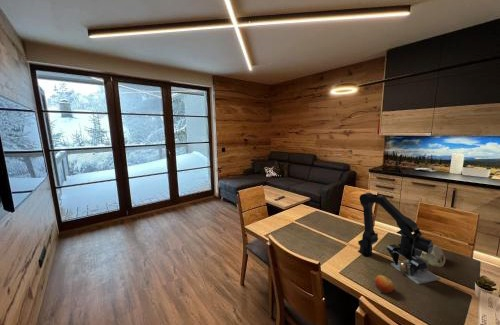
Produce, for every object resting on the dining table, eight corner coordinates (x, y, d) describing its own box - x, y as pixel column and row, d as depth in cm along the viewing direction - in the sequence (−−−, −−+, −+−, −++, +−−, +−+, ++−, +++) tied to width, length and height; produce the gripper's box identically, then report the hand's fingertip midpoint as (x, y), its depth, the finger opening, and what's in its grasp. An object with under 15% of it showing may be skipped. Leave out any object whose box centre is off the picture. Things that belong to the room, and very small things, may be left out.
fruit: (367, 282, 107) (376, 269, 106) (379, 288, 108) (387, 276, 107) (378, 294, 99) (387, 281, 98) (391, 301, 100) (400, 287, 99)
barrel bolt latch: (418, 284, 107) (419, 271, 105) (390, 264, 122) (392, 253, 121) (439, 279, 110) (441, 266, 108) (410, 261, 125) (411, 249, 124)
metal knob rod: (404, 274, 112) (405, 265, 111) (398, 270, 116) (399, 261, 115) (430, 269, 116) (431, 260, 115) (423, 264, 119) (424, 256, 118)
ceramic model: (439, 269, 117) (441, 253, 116) (415, 259, 127) (417, 244, 125) (449, 261, 124) (451, 245, 123) (426, 252, 134) (428, 237, 132)
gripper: (437, 251, 104) (433, 279, 107) (403, 233, 122) (400, 257, 125) (419, 254, 102) (416, 283, 104) (387, 236, 120) (384, 260, 122)
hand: (403, 270), depth 114 cm, fingers open, 9 cm apart
